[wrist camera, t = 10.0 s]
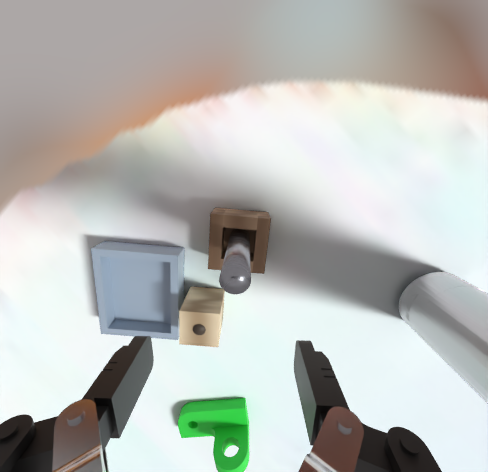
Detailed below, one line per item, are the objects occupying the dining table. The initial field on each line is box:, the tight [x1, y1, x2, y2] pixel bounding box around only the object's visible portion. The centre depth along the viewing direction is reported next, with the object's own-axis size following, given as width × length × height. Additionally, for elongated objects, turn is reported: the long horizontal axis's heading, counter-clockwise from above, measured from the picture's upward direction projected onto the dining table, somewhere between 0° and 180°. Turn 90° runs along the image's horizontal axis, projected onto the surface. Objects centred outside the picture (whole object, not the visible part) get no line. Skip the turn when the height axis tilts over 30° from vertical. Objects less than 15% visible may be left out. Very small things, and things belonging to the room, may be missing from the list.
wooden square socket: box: [208, 208, 271, 274], centre depth 30 cm, size 7×7×4 cm
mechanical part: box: [178, 398, 249, 472], centre depth 38 cm, size 12×6×8 cm, turn 97°
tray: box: [91, 241, 184, 340], centre depth 33 cm, size 11×13×3 cm
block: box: [179, 286, 225, 347], centre depth 32 cm, size 5×5×6 cm
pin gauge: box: [219, 229, 251, 294], centre depth 25 cm, size 3×3×12 cm
